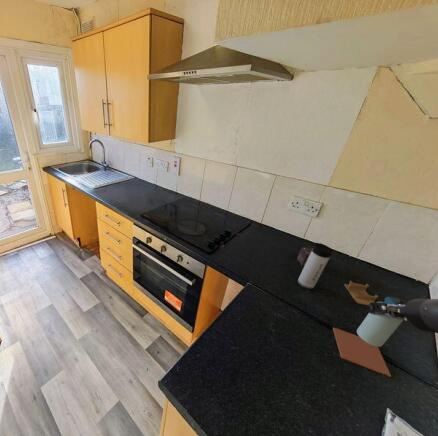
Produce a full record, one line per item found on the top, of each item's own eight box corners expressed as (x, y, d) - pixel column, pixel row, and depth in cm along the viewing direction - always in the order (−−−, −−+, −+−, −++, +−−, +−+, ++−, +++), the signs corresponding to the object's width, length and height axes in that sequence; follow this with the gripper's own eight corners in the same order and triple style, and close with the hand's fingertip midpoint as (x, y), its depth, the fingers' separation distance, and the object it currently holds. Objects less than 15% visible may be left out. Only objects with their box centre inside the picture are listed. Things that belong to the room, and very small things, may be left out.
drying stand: (377, 307, 90) (382, 300, 88) (356, 303, 92) (361, 296, 90) (362, 288, 100) (366, 282, 98) (344, 284, 101) (347, 278, 99)
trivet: (375, 343, 76) (375, 342, 76) (390, 377, 66) (391, 376, 66) (332, 328, 80) (333, 327, 80) (341, 357, 71) (341, 357, 70)
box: (301, 265, 112) (307, 253, 109) (296, 258, 117) (301, 246, 114) (314, 267, 111) (320, 255, 108) (308, 260, 116) (314, 248, 113)
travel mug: (298, 276, 104) (316, 240, 95) (315, 284, 100) (335, 247, 91) (295, 282, 100) (312, 245, 91) (312, 291, 96) (332, 253, 87)
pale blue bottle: (375, 331, 72) (387, 349, 67) (352, 326, 74) (362, 343, 68) (404, 293, 65) (421, 310, 59) (378, 288, 66) (392, 304, 61)
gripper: (404, 324, 52) (354, 318, 68) (484, 343, 49) (412, 332, 65) (401, 291, 54) (353, 293, 70) (478, 307, 51) (410, 305, 67)
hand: (382, 312), depth 67 cm, fingers closed on pale blue bottle, 6 cm apart
